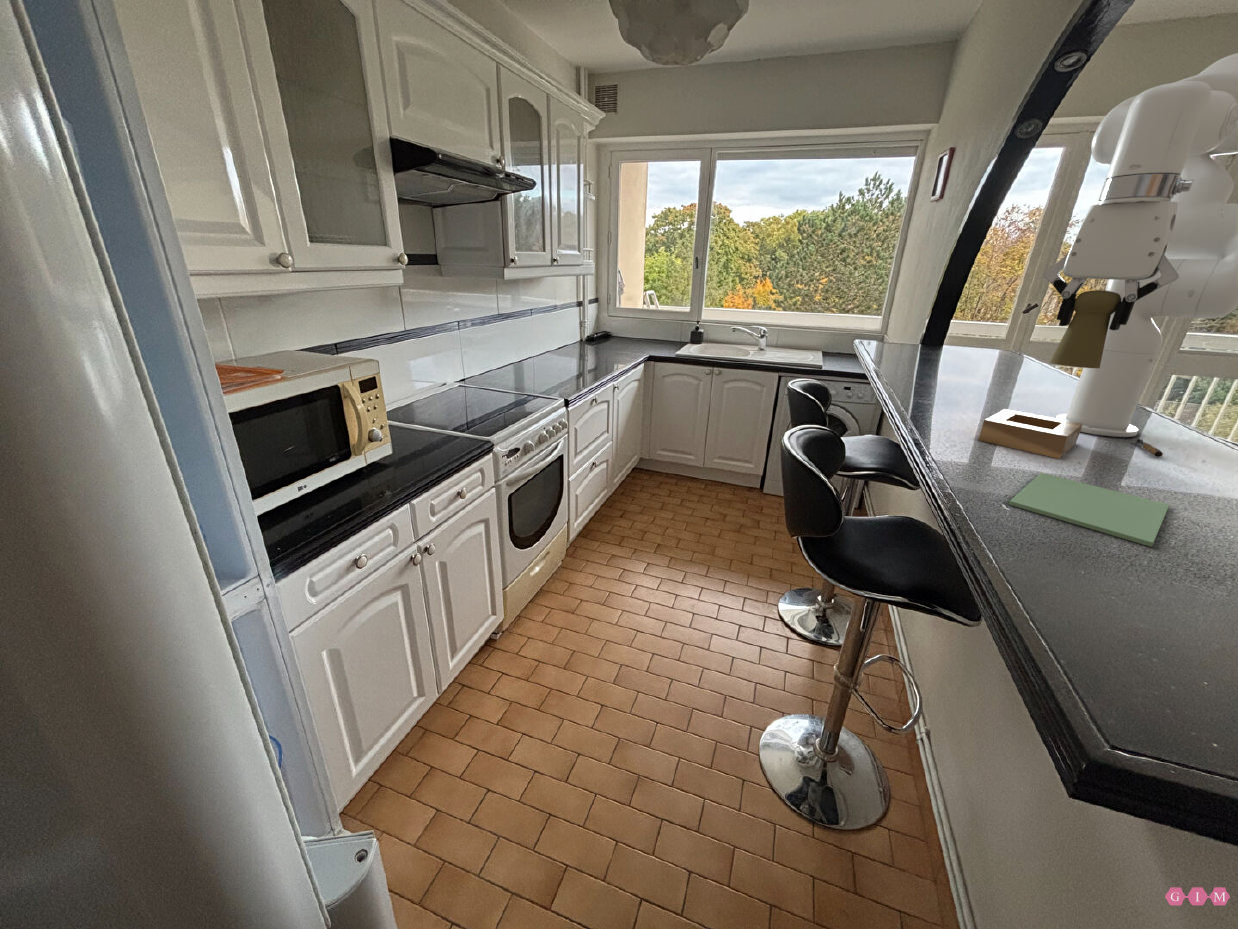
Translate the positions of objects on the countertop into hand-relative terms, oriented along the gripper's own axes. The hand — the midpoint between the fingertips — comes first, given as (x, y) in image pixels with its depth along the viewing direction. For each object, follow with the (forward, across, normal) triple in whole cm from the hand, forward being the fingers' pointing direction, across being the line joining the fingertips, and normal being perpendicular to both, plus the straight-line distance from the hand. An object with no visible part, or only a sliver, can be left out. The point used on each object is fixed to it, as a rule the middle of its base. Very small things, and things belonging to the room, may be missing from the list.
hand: (1088, 326), depth 77 cm
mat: (+22, -9, +17) cm, 29 cm away
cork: (+6, 0, 0) cm, 6 cm away
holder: (+22, +4, -9) cm, 24 cm away
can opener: (+21, -10, -21) cm, 32 cm away
